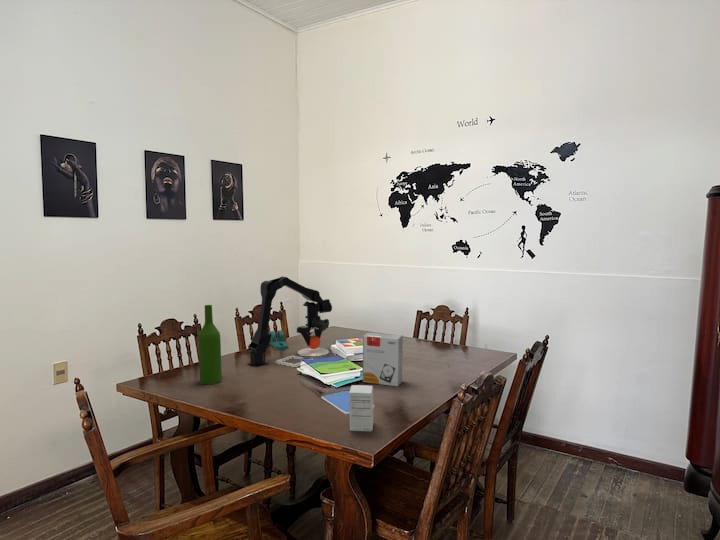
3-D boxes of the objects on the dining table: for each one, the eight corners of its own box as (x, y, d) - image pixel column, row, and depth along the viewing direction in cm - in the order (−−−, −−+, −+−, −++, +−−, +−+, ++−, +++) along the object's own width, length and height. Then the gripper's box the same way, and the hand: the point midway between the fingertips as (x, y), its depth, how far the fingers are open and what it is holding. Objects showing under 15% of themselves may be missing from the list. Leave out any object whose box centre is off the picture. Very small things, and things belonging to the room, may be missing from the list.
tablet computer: (375, 408, 172) (375, 405, 171) (345, 416, 165) (345, 412, 165) (348, 393, 188) (348, 389, 188) (320, 399, 181) (320, 396, 181)
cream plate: (314, 359, 236) (314, 357, 236) (291, 354, 245) (291, 352, 245) (335, 352, 249) (335, 350, 249) (311, 347, 258) (311, 346, 258)
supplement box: (351, 421, 159) (351, 384, 158) (373, 422, 158) (373, 385, 157) (349, 431, 151) (348, 392, 150) (372, 431, 151) (372, 392, 150)
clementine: (306, 351, 242) (305, 337, 241) (304, 347, 249) (303, 334, 248) (321, 350, 244) (321, 336, 244) (319, 346, 251) (319, 333, 250)
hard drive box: (362, 382, 199) (361, 335, 197) (368, 377, 206) (367, 332, 204) (398, 386, 193) (398, 338, 192) (403, 381, 201) (403, 334, 199)
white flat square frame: (294, 367, 221) (294, 364, 221) (276, 363, 228) (276, 360, 228) (310, 362, 230) (310, 359, 230) (292, 358, 237) (292, 355, 237)
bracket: (269, 344, 269) (269, 330, 268) (281, 342, 271) (280, 329, 271) (277, 351, 252) (277, 336, 252) (289, 349, 255) (289, 335, 254)
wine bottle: (212, 376, 209) (210, 303, 206) (226, 380, 204) (223, 304, 201) (195, 382, 202) (192, 305, 199) (208, 385, 197) (206, 307, 194)
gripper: (312, 318, 233) (312, 349, 234) (336, 313, 248) (336, 342, 249) (295, 316, 239) (296, 346, 241) (319, 311, 255) (320, 339, 256)
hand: (313, 343), depth 247 cm, fingers closed on clementine, 7 cm apart
